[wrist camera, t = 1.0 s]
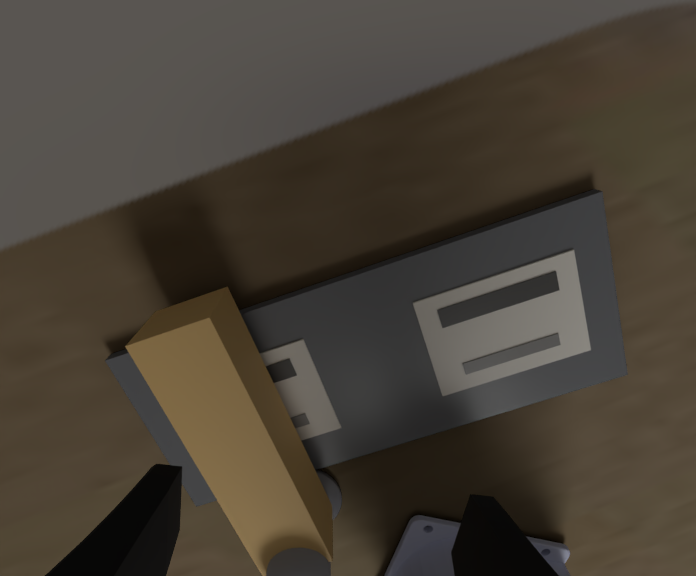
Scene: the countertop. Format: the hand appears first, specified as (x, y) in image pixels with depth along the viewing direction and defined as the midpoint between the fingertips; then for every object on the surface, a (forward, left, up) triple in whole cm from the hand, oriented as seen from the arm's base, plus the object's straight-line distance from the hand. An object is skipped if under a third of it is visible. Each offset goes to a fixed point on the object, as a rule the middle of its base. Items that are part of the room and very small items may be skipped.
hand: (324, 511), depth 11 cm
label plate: (-3, +2, -10) cm, 11 cm away
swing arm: (+2, +5, -9) cm, 11 cm away
